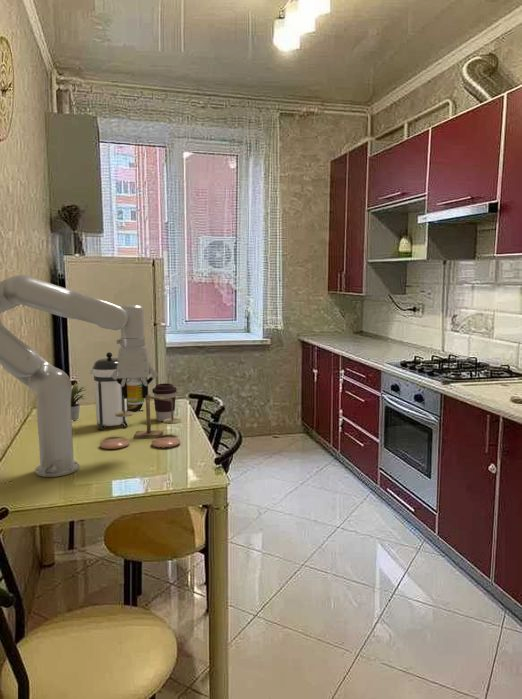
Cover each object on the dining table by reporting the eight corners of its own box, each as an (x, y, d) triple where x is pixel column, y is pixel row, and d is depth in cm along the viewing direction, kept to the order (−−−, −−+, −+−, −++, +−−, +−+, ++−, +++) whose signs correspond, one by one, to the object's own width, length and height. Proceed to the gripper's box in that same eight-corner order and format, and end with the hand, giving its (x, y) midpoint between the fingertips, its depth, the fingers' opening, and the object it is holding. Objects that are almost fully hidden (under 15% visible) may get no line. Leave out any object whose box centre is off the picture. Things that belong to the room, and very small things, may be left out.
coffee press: (114, 433, 202) (110, 355, 198) (84, 428, 210) (81, 353, 206) (145, 423, 217) (142, 350, 213) (116, 418, 225) (113, 348, 221)
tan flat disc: (179, 448, 182) (178, 445, 182) (149, 449, 181) (149, 445, 181) (181, 440, 192) (181, 437, 192) (154, 441, 191) (154, 437, 191)
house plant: (87, 423, 216) (85, 384, 214) (51, 425, 214) (49, 386, 212) (92, 415, 230) (90, 378, 228) (59, 417, 228) (57, 379, 226)
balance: (114, 439, 194) (112, 393, 192) (118, 434, 201) (116, 390, 199) (180, 437, 195) (179, 392, 193) (182, 432, 202) (181, 388, 200)
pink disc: (126, 450, 181) (126, 446, 181) (96, 450, 181) (96, 447, 180) (131, 441, 191) (131, 438, 191) (104, 442, 190) (103, 438, 190)
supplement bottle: (139, 405, 171) (138, 375, 170) (124, 404, 172) (123, 375, 171) (146, 401, 176) (145, 372, 175) (131, 401, 177) (130, 372, 176)
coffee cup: (161, 424, 215) (160, 387, 213) (149, 419, 223) (147, 384, 221) (181, 419, 222) (180, 384, 220) (169, 415, 229) (168, 381, 227)
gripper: (103, 344, 168) (106, 400, 170) (157, 343, 168) (160, 399, 171) (109, 342, 175) (112, 395, 177) (161, 341, 176) (163, 394, 178)
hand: (135, 397), depth 174 cm, fingers closed on supplement bottle, 5 cm apart
